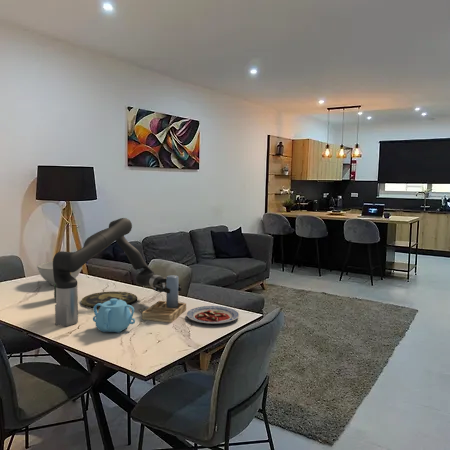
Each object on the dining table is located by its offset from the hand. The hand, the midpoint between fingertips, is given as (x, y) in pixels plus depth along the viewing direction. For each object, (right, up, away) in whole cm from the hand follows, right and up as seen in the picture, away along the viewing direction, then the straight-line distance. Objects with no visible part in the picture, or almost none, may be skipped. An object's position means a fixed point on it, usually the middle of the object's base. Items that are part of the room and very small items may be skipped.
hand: (174, 290), depth 204 cm
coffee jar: (-65, -9, +22) cm, 69 cm away
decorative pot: (-25, -14, -21) cm, 36 cm away
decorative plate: (-38, -10, +20) cm, 44 cm away
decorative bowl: (-80, -5, +56) cm, 97 cm away
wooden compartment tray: (-5, -12, -1) cm, 13 cm away
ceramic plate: (+19, -13, -4) cm, 24 cm away
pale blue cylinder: (-2, -8, +3) cm, 9 cm away
